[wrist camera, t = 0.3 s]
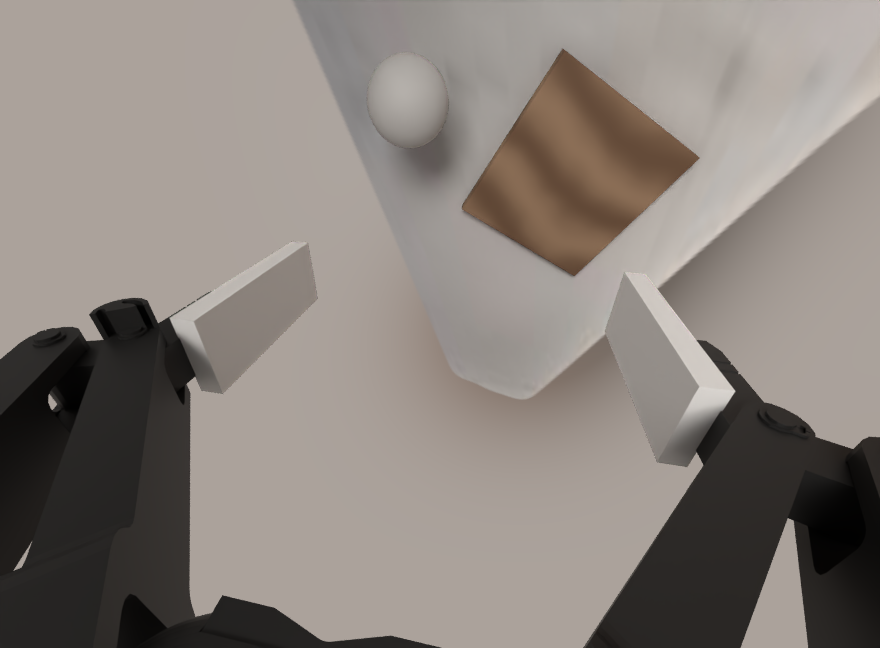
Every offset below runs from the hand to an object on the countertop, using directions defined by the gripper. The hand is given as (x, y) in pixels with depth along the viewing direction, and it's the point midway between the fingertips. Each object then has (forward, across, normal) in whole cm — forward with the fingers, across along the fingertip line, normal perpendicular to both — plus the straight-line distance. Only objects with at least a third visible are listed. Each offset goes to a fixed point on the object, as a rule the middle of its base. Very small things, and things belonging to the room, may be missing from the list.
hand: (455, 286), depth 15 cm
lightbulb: (+25, -7, +8) cm, 27 cm away
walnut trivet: (+27, +8, 0) cm, 28 cm away
